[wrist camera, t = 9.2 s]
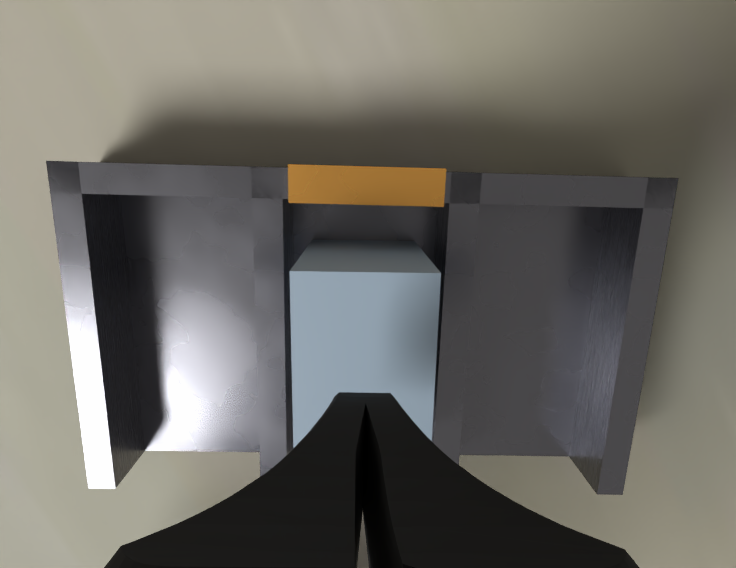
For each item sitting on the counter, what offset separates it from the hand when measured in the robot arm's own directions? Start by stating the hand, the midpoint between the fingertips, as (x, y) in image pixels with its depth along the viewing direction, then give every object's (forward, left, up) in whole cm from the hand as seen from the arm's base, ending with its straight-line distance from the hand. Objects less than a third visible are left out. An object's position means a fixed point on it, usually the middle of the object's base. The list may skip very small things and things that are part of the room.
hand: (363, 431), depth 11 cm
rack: (0, 0, -9) cm, 9 cm away
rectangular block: (0, 0, -8) cm, 8 cm away
